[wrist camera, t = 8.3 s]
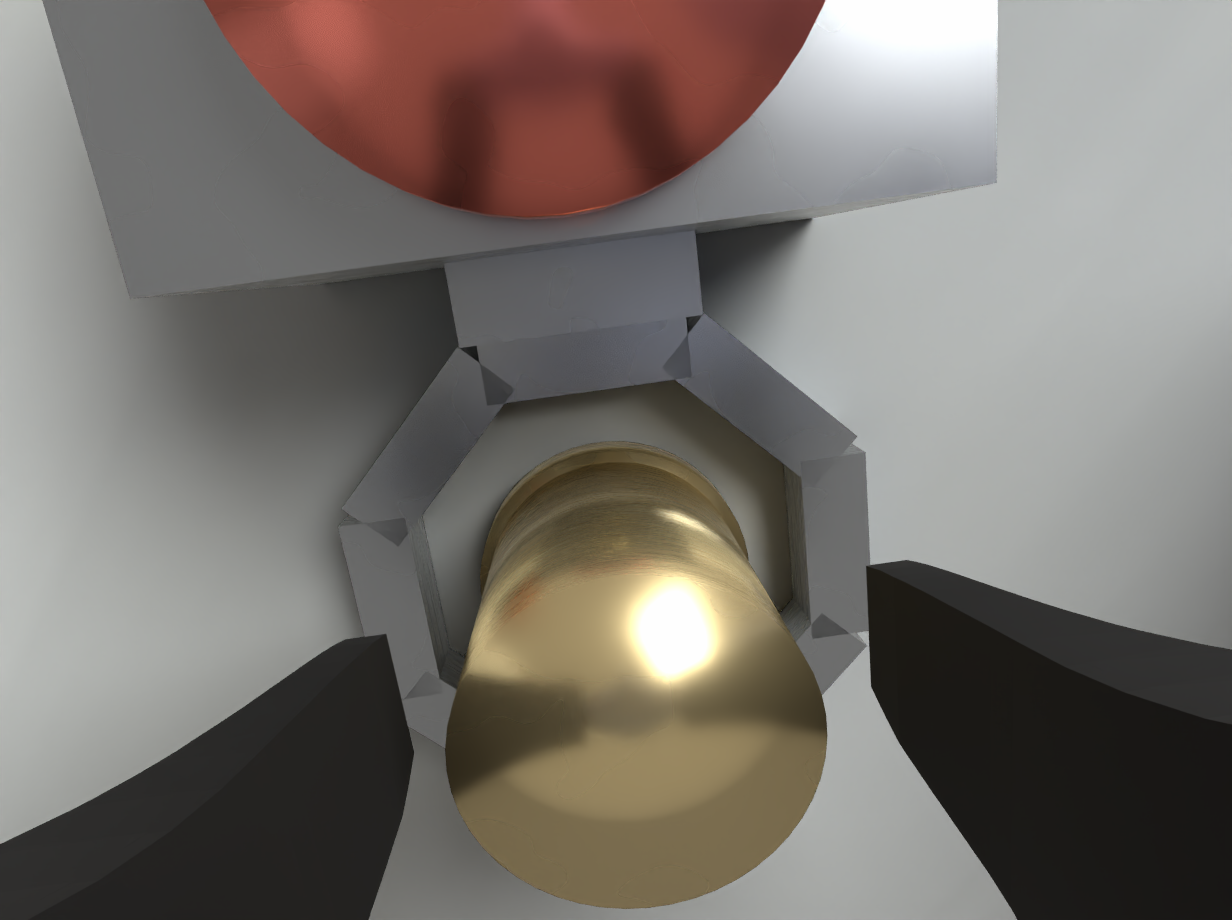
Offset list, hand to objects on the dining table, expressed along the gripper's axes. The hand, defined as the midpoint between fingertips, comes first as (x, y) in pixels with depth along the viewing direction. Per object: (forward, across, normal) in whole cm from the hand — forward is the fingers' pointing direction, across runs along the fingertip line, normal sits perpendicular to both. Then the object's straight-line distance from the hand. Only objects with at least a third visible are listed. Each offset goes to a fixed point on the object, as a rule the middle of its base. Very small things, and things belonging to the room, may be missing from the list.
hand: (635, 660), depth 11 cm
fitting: (+4, 0, 0) cm, 4 cm away
